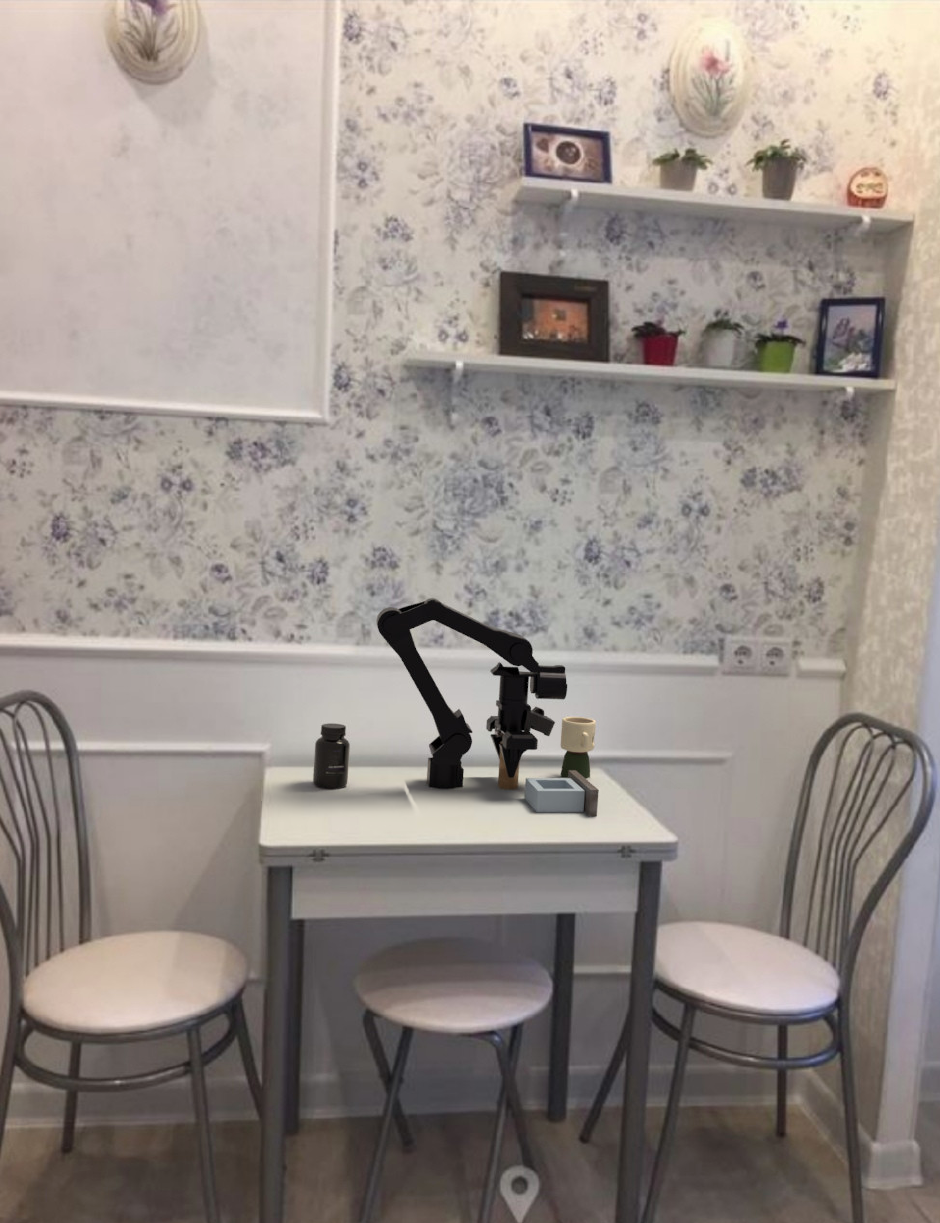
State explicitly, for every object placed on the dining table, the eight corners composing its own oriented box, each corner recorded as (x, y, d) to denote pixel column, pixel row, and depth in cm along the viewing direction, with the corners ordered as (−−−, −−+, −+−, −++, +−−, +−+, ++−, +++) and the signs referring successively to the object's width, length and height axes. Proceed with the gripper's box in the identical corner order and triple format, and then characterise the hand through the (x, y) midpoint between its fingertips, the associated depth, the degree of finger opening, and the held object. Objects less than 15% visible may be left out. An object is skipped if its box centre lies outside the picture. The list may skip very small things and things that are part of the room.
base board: (501, 822, 186) (503, 789, 185) (484, 800, 199) (486, 769, 199) (596, 821, 189) (598, 789, 189) (573, 800, 203) (575, 770, 203)
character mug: (600, 786, 214) (604, 725, 213) (567, 787, 213) (571, 725, 211) (582, 773, 225) (586, 714, 224) (551, 773, 223) (555, 714, 222)
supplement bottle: (333, 791, 200) (336, 730, 198) (305, 785, 203) (308, 725, 202) (354, 784, 206) (357, 725, 204) (327, 778, 209) (329, 720, 208)
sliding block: (536, 812, 190) (538, 790, 189) (524, 798, 198) (525, 778, 198) (583, 811, 191) (584, 790, 191) (569, 798, 200) (570, 778, 200)
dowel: (500, 794, 204) (503, 745, 203) (495, 789, 208) (498, 740, 207) (519, 794, 205) (522, 745, 204) (514, 789, 209) (517, 740, 208)
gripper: (565, 707, 197) (560, 787, 199) (539, 690, 215) (535, 763, 217) (509, 706, 195) (504, 787, 196) (487, 689, 213) (483, 762, 215)
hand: (508, 774), depth 206 cm, fingers closed on dowel, 4 cm apart
